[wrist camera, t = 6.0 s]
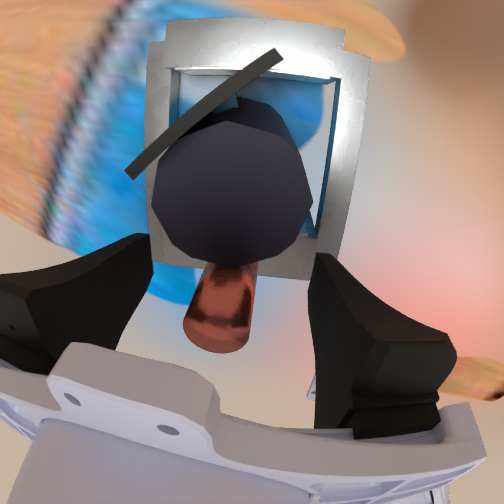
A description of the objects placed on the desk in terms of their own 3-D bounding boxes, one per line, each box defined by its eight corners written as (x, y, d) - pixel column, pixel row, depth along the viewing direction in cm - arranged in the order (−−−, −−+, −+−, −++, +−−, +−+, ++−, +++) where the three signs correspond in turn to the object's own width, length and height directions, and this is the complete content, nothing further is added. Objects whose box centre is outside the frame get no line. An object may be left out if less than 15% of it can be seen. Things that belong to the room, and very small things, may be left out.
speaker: (172, 90, 15) (76, 113, 6) (264, 60, 14) (275, 31, 5) (212, 197, 19) (176, 309, 10) (297, 174, 18) (334, 276, 9)
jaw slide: (303, 246, 19) (318, 363, 10) (184, 233, 19) (121, 335, 11) (310, 209, 18) (336, 314, 9) (183, 197, 18) (108, 285, 10)
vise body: (328, 269, 20) (337, 306, 16) (159, 251, 20) (137, 282, 17) (363, 53, 13) (387, 40, 9) (159, 39, 13) (129, 26, 10)
